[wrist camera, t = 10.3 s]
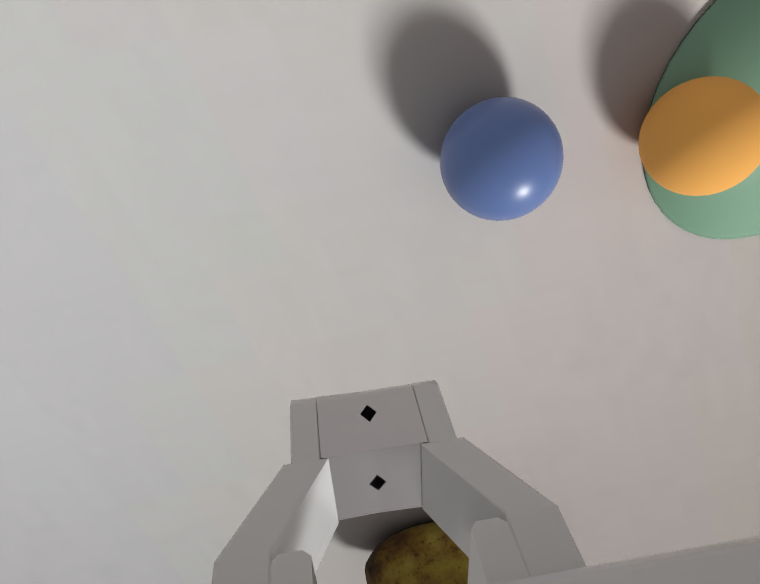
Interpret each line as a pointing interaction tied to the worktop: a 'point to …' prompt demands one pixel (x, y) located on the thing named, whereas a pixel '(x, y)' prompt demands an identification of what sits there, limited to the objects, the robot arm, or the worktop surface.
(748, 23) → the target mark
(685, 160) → the object ball
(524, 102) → the blue ball
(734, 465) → the worktop surface
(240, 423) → the worktop surface
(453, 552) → the potato
